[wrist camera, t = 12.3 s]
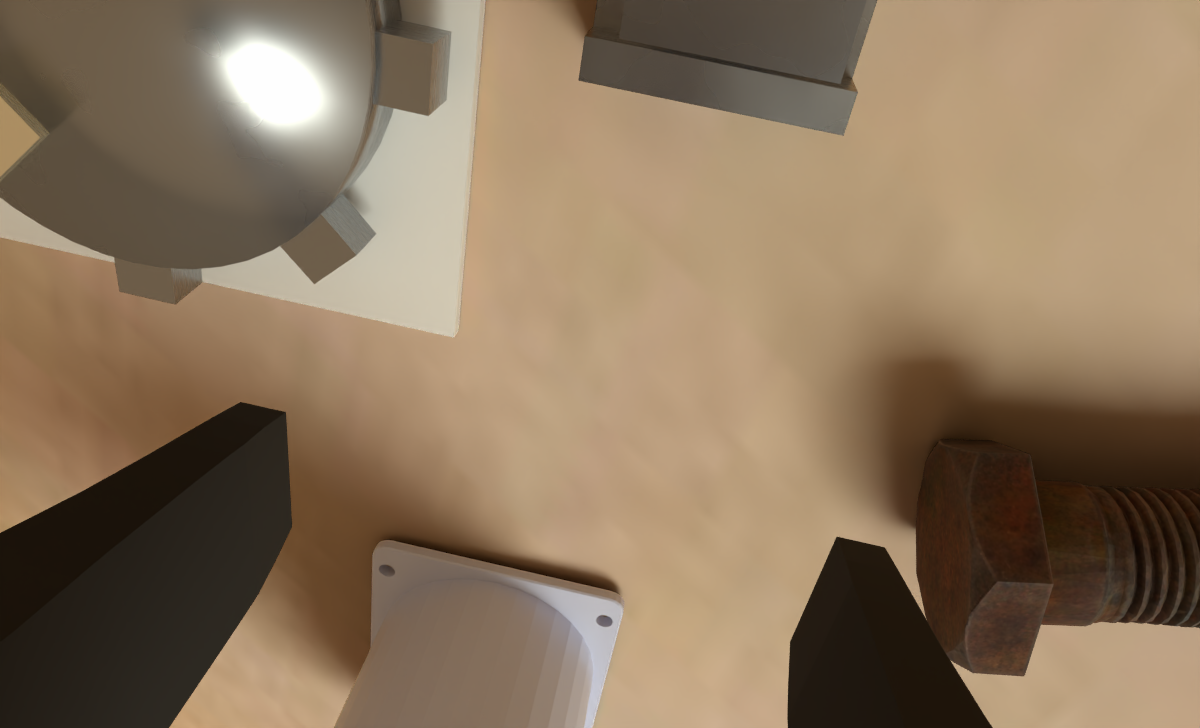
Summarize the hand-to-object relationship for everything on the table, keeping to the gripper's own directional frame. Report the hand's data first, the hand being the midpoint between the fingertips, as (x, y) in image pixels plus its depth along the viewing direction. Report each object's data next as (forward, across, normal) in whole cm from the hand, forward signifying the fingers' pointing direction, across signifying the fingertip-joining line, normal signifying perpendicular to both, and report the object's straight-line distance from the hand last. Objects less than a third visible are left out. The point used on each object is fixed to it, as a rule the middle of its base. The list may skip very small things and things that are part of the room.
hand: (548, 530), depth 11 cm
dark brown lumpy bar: (+11, -16, +4) cm, 20 cm away
